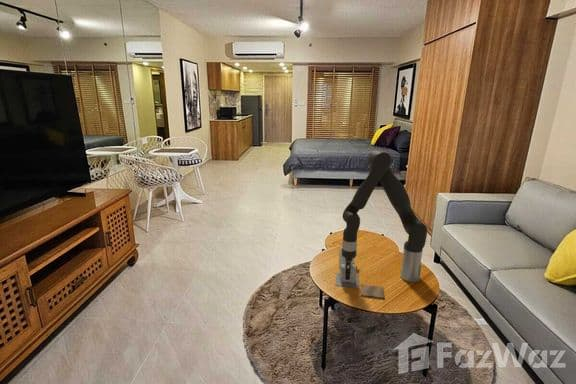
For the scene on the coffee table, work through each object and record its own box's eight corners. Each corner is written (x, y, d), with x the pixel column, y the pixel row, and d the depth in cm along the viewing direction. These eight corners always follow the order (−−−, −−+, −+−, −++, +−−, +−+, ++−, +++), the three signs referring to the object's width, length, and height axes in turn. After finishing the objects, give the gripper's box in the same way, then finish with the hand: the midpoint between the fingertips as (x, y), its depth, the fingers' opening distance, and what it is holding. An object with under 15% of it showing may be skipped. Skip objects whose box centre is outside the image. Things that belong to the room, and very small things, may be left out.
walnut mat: (382, 288, 159) (382, 287, 159) (384, 298, 150) (384, 297, 150) (360, 285, 161) (360, 284, 161) (361, 296, 153) (361, 294, 152)
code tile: (358, 275, 170) (358, 275, 170) (358, 288, 159) (358, 288, 159) (336, 273, 173) (336, 273, 173) (335, 285, 161) (335, 285, 161)
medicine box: (353, 277, 168) (354, 263, 165) (355, 282, 164) (356, 267, 161) (339, 278, 168) (339, 263, 165) (340, 282, 163) (341, 268, 161)
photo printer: (350, 259, 187) (351, 241, 184) (355, 262, 184) (356, 243, 180) (337, 264, 182) (338, 245, 178) (342, 267, 178) (343, 248, 175)
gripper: (356, 254, 153) (354, 284, 158) (356, 242, 166) (354, 270, 171) (341, 253, 154) (339, 283, 159) (342, 240, 168) (341, 268, 173)
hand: (347, 276), depth 165 cm, fingers closed on medicine box, 5 cm apart
